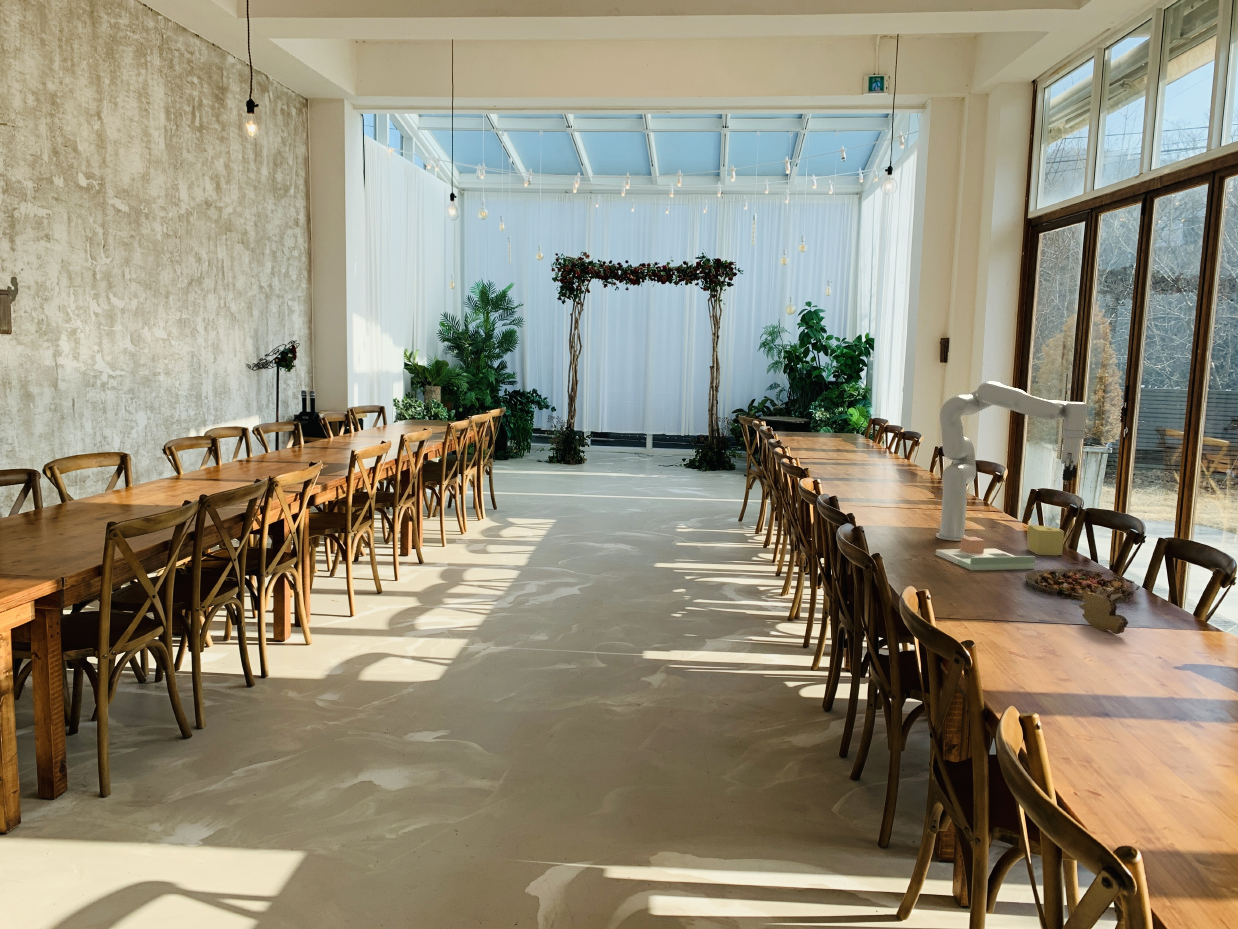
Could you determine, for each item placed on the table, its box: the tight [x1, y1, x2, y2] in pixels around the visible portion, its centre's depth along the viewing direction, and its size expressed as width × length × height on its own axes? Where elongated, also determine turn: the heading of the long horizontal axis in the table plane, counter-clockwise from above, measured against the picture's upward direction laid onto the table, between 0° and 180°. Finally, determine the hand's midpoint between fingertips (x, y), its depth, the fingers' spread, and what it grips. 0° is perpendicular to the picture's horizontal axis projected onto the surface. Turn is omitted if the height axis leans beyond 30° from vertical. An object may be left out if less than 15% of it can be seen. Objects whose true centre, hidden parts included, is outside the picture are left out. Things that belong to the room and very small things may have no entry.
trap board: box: [935, 548, 1036, 571], centre depth 329 cm, size 24×25×4 cm
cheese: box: [1026, 524, 1065, 556], centre depth 346 cm, size 10×11×10 cm
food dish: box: [1024, 567, 1140, 605], centre depth 291 cm, size 35×33×8 cm
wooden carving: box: [1078, 594, 1129, 635], centre depth 249 cm, size 16×5×10 cm, turn 17°
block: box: [959, 536, 985, 553], centre depth 336 cm, size 6×6×5 cm
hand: (1069, 478), depth 338 cm, fingers open, 9 cm apart
